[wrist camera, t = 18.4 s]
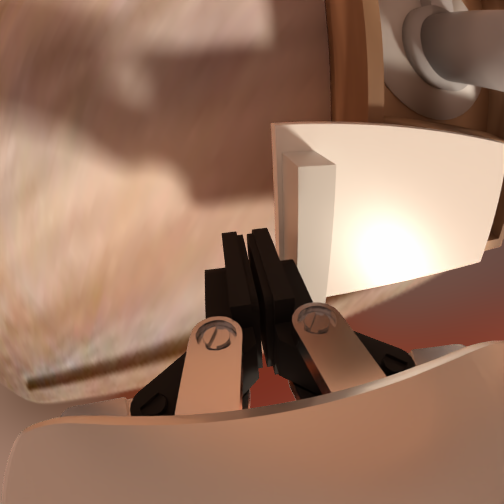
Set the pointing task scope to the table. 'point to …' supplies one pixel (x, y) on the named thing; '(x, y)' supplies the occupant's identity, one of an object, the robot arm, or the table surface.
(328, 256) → the lid
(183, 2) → the table surface
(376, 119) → the housing
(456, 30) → the grey cylinder
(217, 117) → the table surface
